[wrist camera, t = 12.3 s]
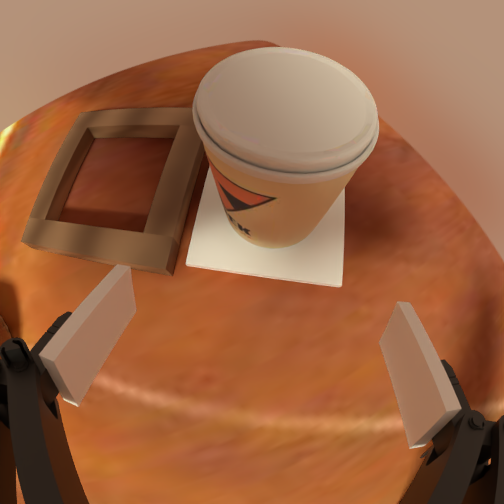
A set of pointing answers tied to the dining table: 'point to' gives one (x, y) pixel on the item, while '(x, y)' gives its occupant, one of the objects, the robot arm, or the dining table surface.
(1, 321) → the bread roll
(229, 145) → the coffee cup
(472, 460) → the robot arm
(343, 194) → the white tile
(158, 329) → the dining table surface
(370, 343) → the dining table surface
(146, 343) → the dining table surface
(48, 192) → the square frame
